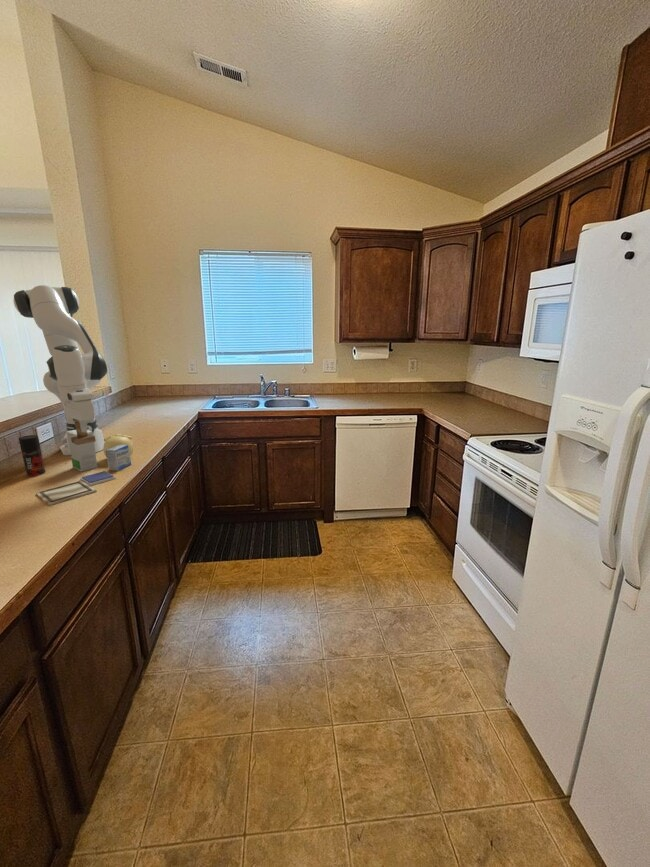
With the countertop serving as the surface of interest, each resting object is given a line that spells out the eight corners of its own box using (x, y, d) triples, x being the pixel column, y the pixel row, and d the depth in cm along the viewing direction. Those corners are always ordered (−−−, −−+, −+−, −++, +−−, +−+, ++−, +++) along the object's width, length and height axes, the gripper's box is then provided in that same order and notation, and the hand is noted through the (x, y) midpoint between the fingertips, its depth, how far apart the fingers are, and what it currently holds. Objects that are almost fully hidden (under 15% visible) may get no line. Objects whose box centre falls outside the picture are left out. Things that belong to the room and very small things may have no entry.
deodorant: (25, 477, 147) (16, 440, 143) (28, 472, 152) (20, 436, 148) (44, 474, 150) (36, 437, 146) (46, 469, 155) (39, 434, 151)
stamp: (71, 442, 139) (66, 418, 137) (89, 438, 143) (85, 415, 141) (77, 445, 135) (72, 420, 133) (95, 441, 140) (91, 417, 137)
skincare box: (72, 467, 157) (65, 431, 153) (89, 463, 162) (83, 427, 158) (82, 472, 152) (74, 434, 148) (99, 467, 157) (92, 430, 153)
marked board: (36, 494, 132) (35, 491, 131) (81, 482, 142) (81, 479, 142) (49, 505, 123) (48, 503, 123) (96, 491, 133) (96, 489, 133)
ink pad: (80, 480, 144) (79, 477, 143) (105, 473, 150) (105, 470, 150) (89, 485, 138) (89, 482, 138) (115, 478, 145) (115, 475, 145)
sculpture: (136, 452, 175) (132, 430, 172) (132, 461, 164) (129, 437, 161) (108, 455, 172) (104, 432, 169) (102, 464, 161) (98, 439, 158)
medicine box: (118, 471, 153) (114, 450, 150) (108, 470, 154) (105, 449, 151) (131, 464, 160) (128, 444, 158) (122, 463, 161) (119, 444, 159)
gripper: (54, 391, 139) (62, 428, 142) (74, 396, 126) (81, 437, 130) (74, 389, 143) (81, 424, 147) (95, 394, 130) (101, 433, 134)
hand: (81, 430), depth 138 cm, fingers closed on stamp, 3 cm apart
